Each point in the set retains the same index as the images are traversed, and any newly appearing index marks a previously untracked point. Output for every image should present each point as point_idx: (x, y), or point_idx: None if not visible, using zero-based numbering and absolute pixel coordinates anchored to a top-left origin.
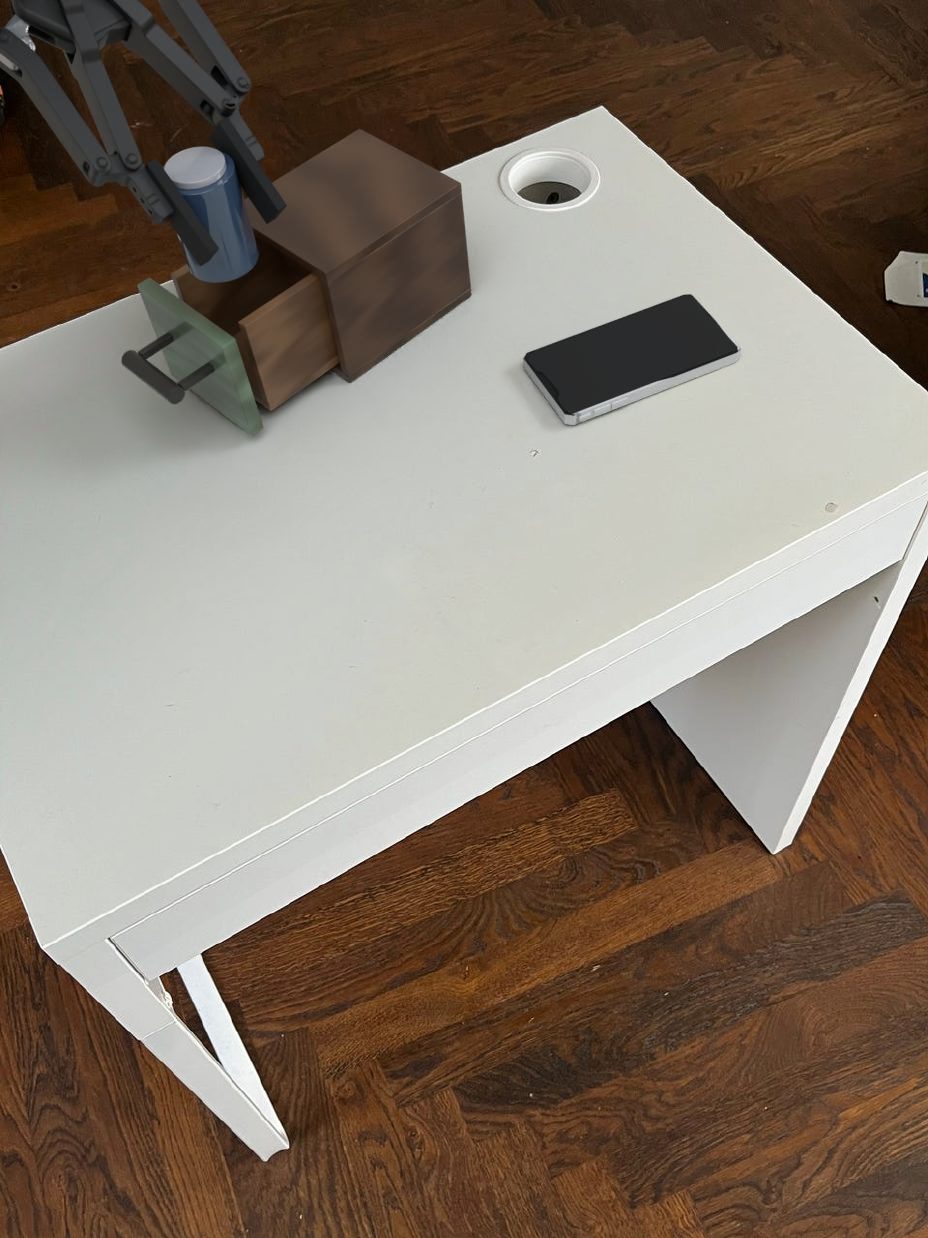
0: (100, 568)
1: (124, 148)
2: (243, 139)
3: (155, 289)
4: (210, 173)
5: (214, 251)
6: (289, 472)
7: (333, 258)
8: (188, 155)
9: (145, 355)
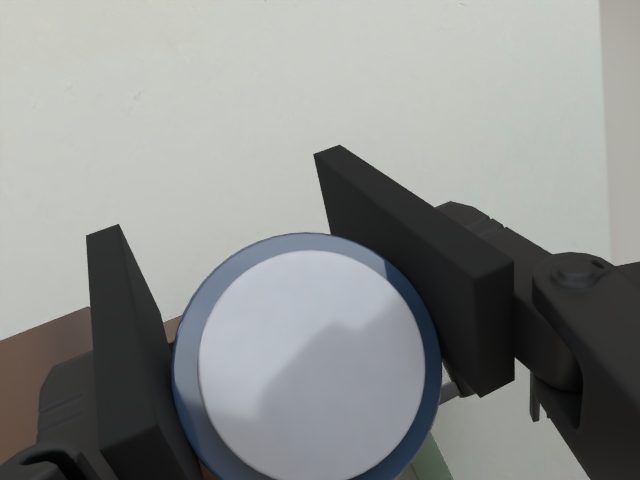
0: (514, 180)
1: (618, 301)
2: (89, 410)
3: (425, 457)
4: (274, 273)
5: (327, 149)
6: (278, 218)
7: (51, 347)
8: (323, 431)
9: (448, 383)
